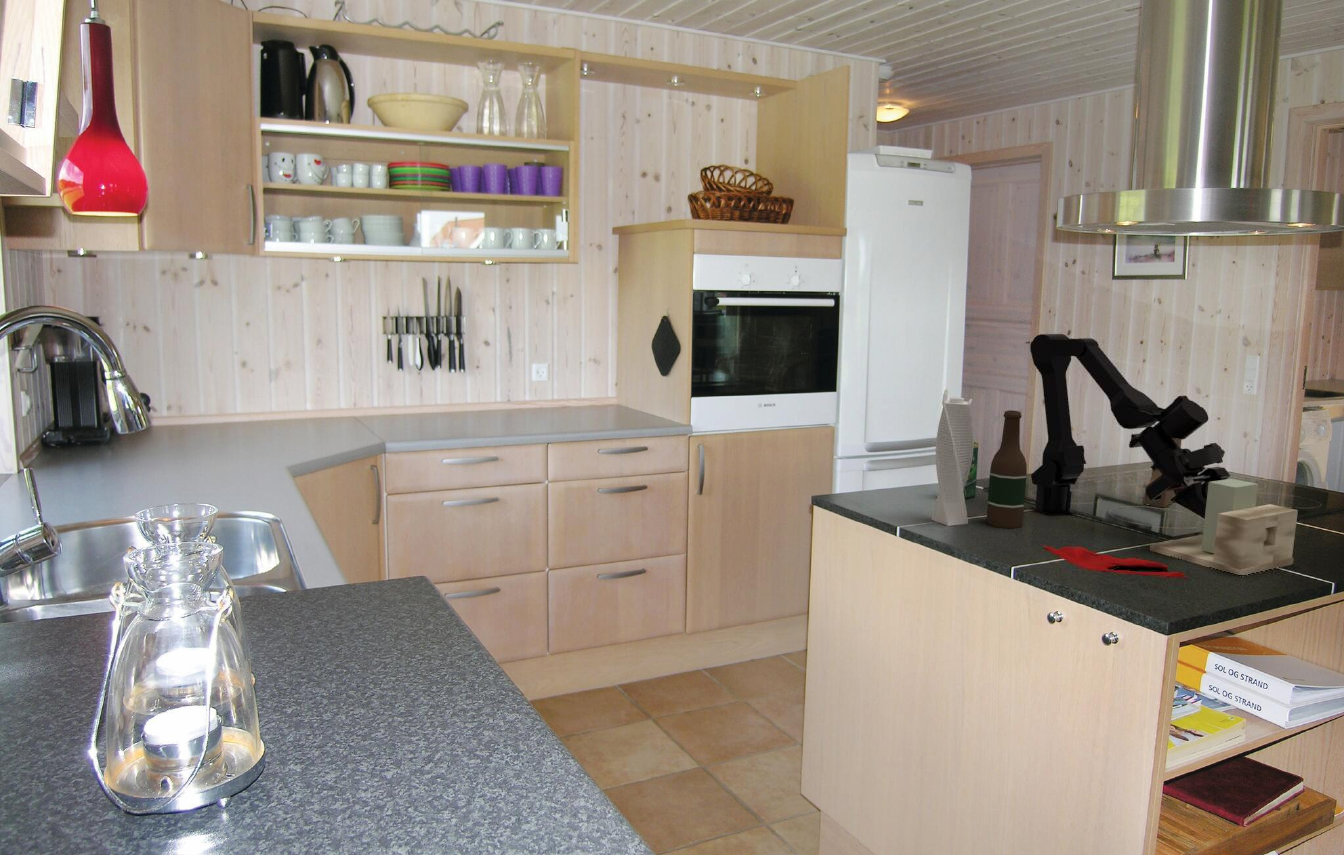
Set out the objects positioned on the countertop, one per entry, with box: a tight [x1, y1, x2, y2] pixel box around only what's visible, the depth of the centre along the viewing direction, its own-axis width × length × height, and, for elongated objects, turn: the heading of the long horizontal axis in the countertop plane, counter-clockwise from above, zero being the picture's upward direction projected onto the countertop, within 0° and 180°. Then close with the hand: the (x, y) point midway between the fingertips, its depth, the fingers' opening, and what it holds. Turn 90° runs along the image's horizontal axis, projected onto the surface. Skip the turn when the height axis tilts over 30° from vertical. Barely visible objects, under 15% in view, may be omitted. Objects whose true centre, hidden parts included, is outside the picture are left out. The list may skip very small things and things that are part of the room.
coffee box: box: [963, 441, 979, 500], centre depth 222 cm, size 8×3×13 cm, turn 122°
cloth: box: [1042, 546, 1188, 578], centre depth 174 cm, size 26×14×2 cm, turn 34°
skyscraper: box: [931, 388, 975, 527], centre depth 200 cm, size 8×8×28 cm
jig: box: [1149, 503, 1299, 576], centre depth 178 cm, size 18×16×10 cm
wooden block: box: [1143, 438, 1182, 509], centre depth 220 cm, size 9×4×18 cm, turn 138°
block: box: [1201, 478, 1268, 553], centre depth 175 cm, size 9×7×13 cm
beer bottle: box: [986, 410, 1028, 529], centre depth 199 cm, size 8×8×24 cm
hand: (1214, 521), depth 180 cm, fingers closed
